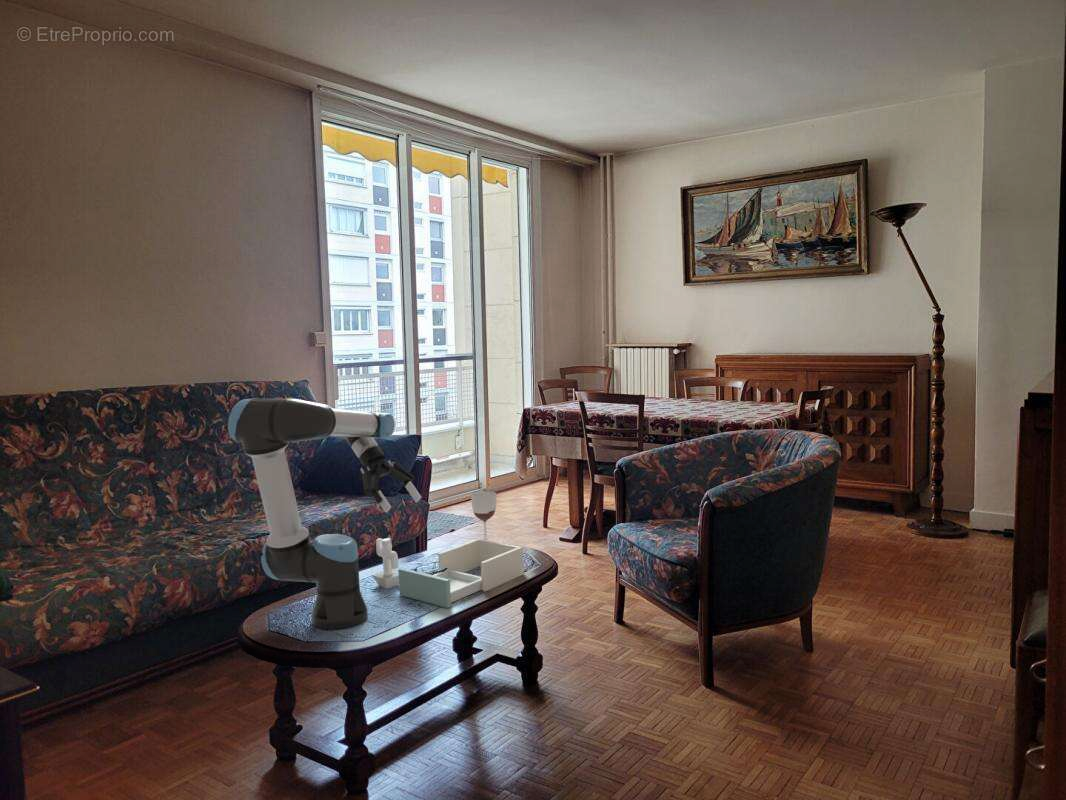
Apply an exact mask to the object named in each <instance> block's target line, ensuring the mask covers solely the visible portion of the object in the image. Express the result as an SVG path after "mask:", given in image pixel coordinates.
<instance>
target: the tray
mask: <svg viewBox="0 0 1066 800" xmlns="http://www.w3.org/2000/svg"><path fill="white" fill-rule="evenodd" d="M397 569H398V572H399V585H398V588H399V589H398V591H399V592H398V593H399V596H402V597H406V598H409V599H413V600H417V601H420V602H425V603H428V604H432V605H435V606H439V607H443V608H446V609H448V608H450V607H452V603H453V602H457V601H458V600H461V599H463V598H465V597H467V596H469V595H472V594H475V593H477V592H480V591H482V581H481V576H479V575H475V574H474V575H473V574H470V573H467V572H464V573H462V572H458V571H453V570H449V569H447V570H445V571H444V572H440V573H439V572H437V573H434V574H429V573H425V572H419V571H416V570H413V569H412V570H411V569H407V568H403V567H401V568H397Z"/></svg>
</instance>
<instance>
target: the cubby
mask: <svg viewBox="0 0 1066 800" xmlns="http://www.w3.org/2000/svg"><path fill="white" fill-rule="evenodd" d="M437 557H438V571H439V570H443V569H445V568H448V569H449V570H453V571H458V572H462V573H467V572H468V571H471V570H474V569H476V568H479V567H480V575H481V576H480V577H481V581H482V589H481V591H482V592H484V593H485V592H487V591H489V590H492V589H494V588H496V587H498V586H500V585H501V586H502V585H503V584H506V583H507V582H510V581H512V580H514V579H518V578H519V577H520V576H523V575H524V573H525V571H524V548H523V546H517V545H512V544H507V543H503V542H497V541H492V540H484V539H483V538H482V539H481V538H476V539H474V540H470V541H468V542H465V543H463V544H460V545H456V546H454V547H452V548H448V549H446V550H443V551H440V552H438V553H437Z"/></svg>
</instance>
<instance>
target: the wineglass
mask: <svg viewBox="0 0 1066 800" xmlns="http://www.w3.org/2000/svg"><path fill="white" fill-rule="evenodd" d="M470 499H471V508H472V512H473V515H474V516H475V518H477V519H479V520H480V521H481V522H483V537H484V538H483V540H487V538H488V536H487V535H488V534H487V521H488V520H490V519H492V517H493V516H494V515H495V513H496V509H497V492H495V491H493V490H492V491H491V490H490V491H488V490H486V491H485V490H483V491H481V490H480V491H477V492H473V493H471V494H470ZM487 541H488V540H487Z"/></svg>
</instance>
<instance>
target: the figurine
mask: <svg viewBox="0 0 1066 800" xmlns="http://www.w3.org/2000/svg"><path fill="white" fill-rule="evenodd" d="M375 545H376V546H375V548H376V549H375V552H376V555H378V557H381V558H382V566H383V568H382V571H379V572H377V573H372V575H371V576H372V577H373V579H374V580H375V582H376V583H377V585H378V586H379V587H381V588H384V589H390V588H393V587H397V586H399V572H398V571H397V570H396V569H399V557H398V553H397V552H396V551H394V550H392V548H393V543H392V538H390V537H386V538H377V539H376V540H375Z"/></svg>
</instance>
